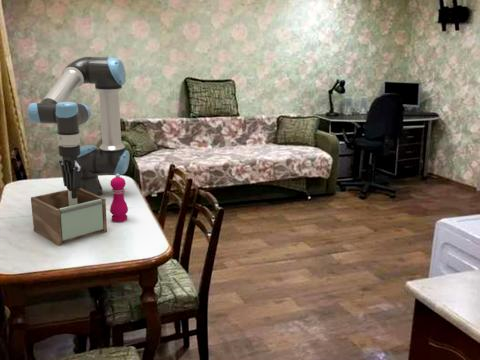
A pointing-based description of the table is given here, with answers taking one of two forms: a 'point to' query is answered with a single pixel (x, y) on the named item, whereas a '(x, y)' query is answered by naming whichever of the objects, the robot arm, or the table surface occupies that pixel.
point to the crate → (49, 214)
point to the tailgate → (81, 219)
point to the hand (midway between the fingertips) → (73, 205)
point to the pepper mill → (118, 200)
